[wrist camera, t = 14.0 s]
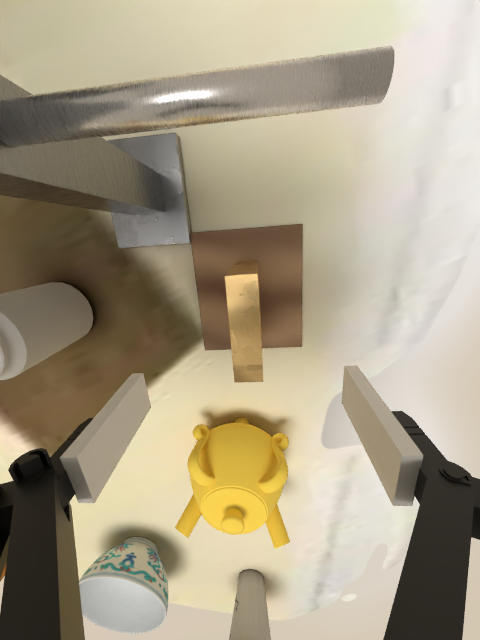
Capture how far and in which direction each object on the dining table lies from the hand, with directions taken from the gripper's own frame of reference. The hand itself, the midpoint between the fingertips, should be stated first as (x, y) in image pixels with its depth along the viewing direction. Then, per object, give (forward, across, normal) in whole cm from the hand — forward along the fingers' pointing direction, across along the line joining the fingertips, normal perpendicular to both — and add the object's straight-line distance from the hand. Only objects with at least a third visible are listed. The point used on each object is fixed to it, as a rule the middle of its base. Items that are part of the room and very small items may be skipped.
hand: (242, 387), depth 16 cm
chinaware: (+14, -23, -44) cm, 52 cm away
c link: (+14, 0, +2) cm, 14 cm away
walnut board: (+15, 0, +3) cm, 15 cm away
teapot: (+15, -3, -21) cm, 26 cm away
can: (+15, -23, +2) cm, 27 cm away
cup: (+14, -3, -51) cm, 53 cm away
